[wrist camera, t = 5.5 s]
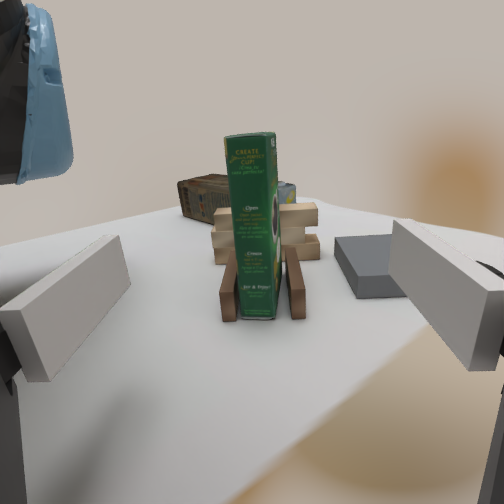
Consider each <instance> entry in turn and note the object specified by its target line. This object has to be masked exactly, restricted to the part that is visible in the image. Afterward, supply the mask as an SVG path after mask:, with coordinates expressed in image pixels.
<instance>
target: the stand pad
mask: <svg viewBox="0 0 504 504" xmlns="http://www.w3.org/2000/svg"><path fill="white" fill-rule="evenodd" d="M391 240H392V234H386V235H368V236H349V237H335V246H334V255H335V257H336V259H337V261H338V263H339V265H340V267H341V269H342V271H343V273H344V275H345V276H346V278H347V280H348V282H349V284H350V286H351V288H352V290H353V292H354V294H355V296H356V298H381V297H406V296H407V295H406V294H405V293H404V292H403V291H402V289H401V288H400V287H399V286H398V284H397V283H396V282H395V281H394V280H393V278H392V277H391V276H390V275H389V273H388V269H389V259H390V250H391Z"/></svg>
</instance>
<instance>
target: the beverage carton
mask: <svg viewBox="0 0 504 504" xmlns="http://www.w3.org/2000/svg"><path fill="white" fill-rule="evenodd" d="M177 187H178V193H179V198H180V203H181V208H182V213H183V216H186V217H189V218H193V219H197V220H200V221H203V222H207V223H210V224H213V225H215V221H214V213H215V212H216V210H217V208H229V207H231V204H230V194H229V184H228V175H220V174H209V175H206V176H201V177H195V178H192V179H188V180H183V181H179V182H178V183H177ZM278 192H279V204H296V186H295V185H293V184H289V183H285V182H282V181H278Z"/></svg>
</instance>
